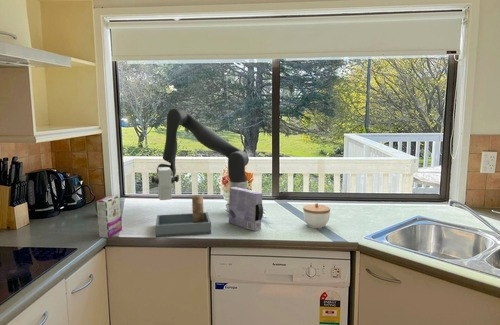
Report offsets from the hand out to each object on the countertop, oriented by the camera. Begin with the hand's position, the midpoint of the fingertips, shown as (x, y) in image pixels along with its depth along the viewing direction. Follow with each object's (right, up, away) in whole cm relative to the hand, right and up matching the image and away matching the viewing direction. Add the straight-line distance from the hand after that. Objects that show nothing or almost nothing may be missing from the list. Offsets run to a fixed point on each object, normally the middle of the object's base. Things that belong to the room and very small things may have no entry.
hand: (164, 181), depth 174 cm
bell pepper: (-35, -19, +16) cm, 43 cm away
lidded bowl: (+73, -21, -2) cm, 76 cm away
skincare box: (0, -8, +3) cm, 9 cm away
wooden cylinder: (+17, -20, -5) cm, 27 cm away
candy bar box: (-21, -23, -12) cm, 33 cm away
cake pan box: (+39, -21, -2) cm, 44 cm away
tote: (+10, -22, -6) cm, 25 cm away
